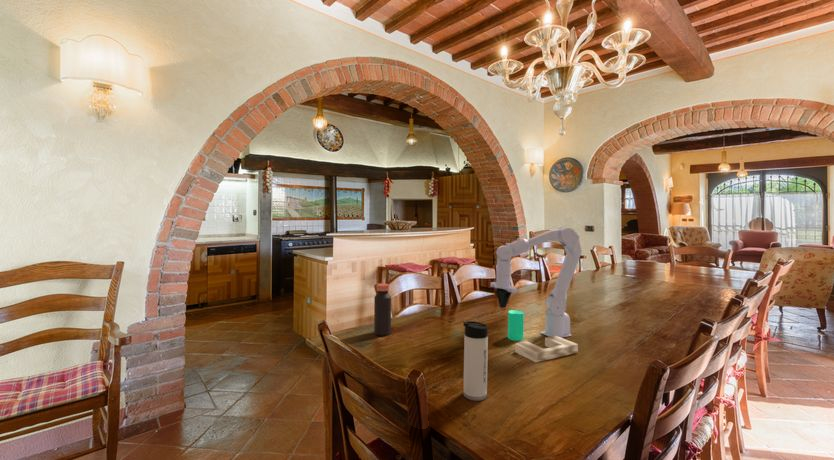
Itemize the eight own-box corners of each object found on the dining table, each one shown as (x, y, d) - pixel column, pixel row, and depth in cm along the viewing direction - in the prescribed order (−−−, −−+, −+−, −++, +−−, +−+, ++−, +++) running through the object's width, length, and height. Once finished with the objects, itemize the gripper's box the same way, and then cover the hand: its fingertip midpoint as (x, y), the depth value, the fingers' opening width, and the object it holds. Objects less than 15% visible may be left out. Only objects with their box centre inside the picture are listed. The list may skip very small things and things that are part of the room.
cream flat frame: (555, 343, 137) (555, 335, 137) (577, 352, 128) (577, 344, 128) (514, 351, 128) (515, 343, 128) (535, 362, 119) (535, 353, 119)
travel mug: (460, 389, 100) (461, 319, 99) (483, 389, 101) (484, 319, 100) (464, 401, 94) (466, 326, 93) (489, 400, 94) (491, 326, 93)
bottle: (386, 337, 142) (387, 287, 141) (371, 334, 144) (371, 285, 143) (393, 331, 148) (393, 283, 147) (378, 329, 150) (378, 282, 149)
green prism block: (524, 341, 139) (524, 310, 138) (508, 340, 140) (508, 309, 139) (522, 336, 144) (523, 306, 144) (507, 334, 146) (507, 305, 145)
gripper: (484, 272, 153) (484, 304, 154) (507, 278, 140) (506, 312, 141) (498, 271, 156) (497, 302, 157) (521, 277, 143) (520, 310, 144)
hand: (502, 307), depth 149 cm, fingers closed
